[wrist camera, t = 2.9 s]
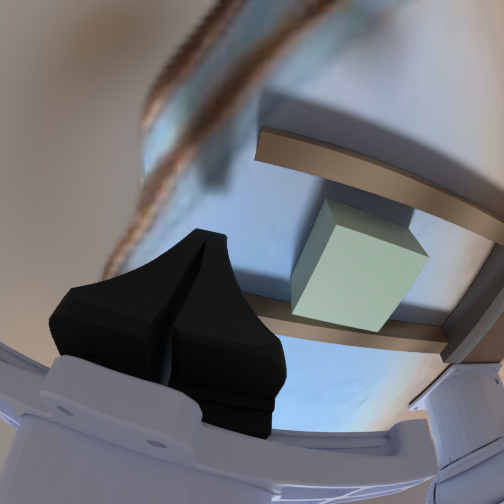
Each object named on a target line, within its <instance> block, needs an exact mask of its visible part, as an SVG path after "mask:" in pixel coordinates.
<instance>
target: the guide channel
mask: <svg viewBox="0 0 504 504" xmlns="http://www.w3.org/2000/svg"><path fill="white" fill-rule="evenodd" d="M254 160H256V161H260V162H264V163H268V164H273V165H277V166H281V167H285V168H289V169H292V170H296V171H300V172H304V173H307V174H311V175H315V176H318V177H322V178H325V179H329V180H332V181H335V182H339V183H342V184H345V185H349V186H352V187H355V188H358V189H361V190H364V191H367V192H371V193H374V194H377V195H379V196H382V197H385V198H388V199H391V200H394V201H397V202H400V203H402V204H405V205H408V206H411V207H413V208H416V209H419V210H421V211H424V212H426V213H429V214H431V215H434V216H437V217H439V218H442V219H444V220H446V221H449V222H451V223H454V224H456V225H458V226H461V227H463V228H465V229H468V230H470V231H472V232H474V233H477V234H479V235H481V236H483V237H485V238H488V239H490V240H492V241H494V242H496V245H495V247H494V249H493V250H492V252H491V254H490V256H489V258H488V259H487V261H486V263H485V264H484V266H483V268H482V269H481V271H480V273H479V274H478V276H477V277H476V279H475V281H474V282H473V284H472V285H471V287H470V288H469V290H468V291H467V293H466V294H465V296H464V297H463V299H462V300H461V302H460V303H459V304H458V306H457V307H456V309H455V310H454V311H453V313H452V314H451V316H450V317H449V318H448V320H447V321H446V322H445V323H444V325H443V326H442V327H436V326H429V325H422V324H415V323H408V322H401V321H394V320H388V319H387V321H386V322H385V323H384V325H383V326H382V327H381V329H380V330H379V331H378V332H375V331H369V330H364V329H359V328H354V327H349V326H345V325H340V324H335V323H330V322H326V321H321V320H317V319H312V318H308V317H303V316H299V315H294V314H292V305H291V302H286V301H281V300H276V299H271V298H266V297H261V296H256V295H252V294H247V293H243V295H244V297H245V298H246V300H247V302H248V303H249V305H250V306H251V308H252V309H253V310H254V312H255V313H256V315H257V316H258V318H259V319H260V320H261V321H262V322H263V324H264V325H265V326H266V327H267V328H268V329H269V330H270V331H271V332H272V333H273V334H277V335H283V336H289V337H295V338H301V339H307V340H314V341H320V342H327V343H334V344H342V345H350V346H358V347H366V348H376V349H385V350H396V351H408V352H421V353H436V354H440V356H441V358H442V360H443V363H461V362H462V361H463V359H464V358H465V357H466V356H467V355H468V354H469V353H470V352H471V351H472V350H473V348H474V347H475V346H476V345H477V344H478V343H479V341H480V340H481V339H482V338H483V337H484V335H485V334H486V333H487V332H488V331H489V329H490V328H491V327H492V325H493V324H494V323H495V322H496V320H497V319H498V318H499V316H500V315H501V314H502V312H503V311H504V219H503V218H501V217H499V216H497V215H496V214H494V213H492V212H490V211H489V210H487V209H485V208H483V207H481V206H479V205H477V204H476V203H474V202H472V201H470V200H468V199H466V198H464V197H462V196H460V195H458V194H456V193H454V192H452V191H450V190H448V189H446V188H443V187H441V186H439V185H437V184H435V183H433V182H430V181H428V180H426V179H424V178H421V177H419V176H417V175H414V174H412V173H410V172H407V171H405V170H402V169H400V168H397V167H395V166H392V165H390V164H387V163H384V162H382V161H379V160H376V159H374V158H371V157H368V156H365V155H363V154H360V153H357V152H354V151H351V150H348V149H345V148H342V147H339V146H336V145H332V144H329V143H326V142H323V141H319V140H316V139H312V138H309V137H305V136H302V135H298V134H294V133H291V132H287V131H283V130H279V129H275V128H271V127H267V126H262V130H261V134H260V138H259V142H258V146H257V150H256V154H255V159H254Z"/></svg>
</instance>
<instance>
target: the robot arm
mask: <svg viewBox="0 0 504 504" xmlns="http://www.w3.org/2000/svg"><path fill="white" fill-rule="evenodd" d="M49 328H50V331H51V335H52V337H53V339H54V342H55V344H56V346H57V349H58V351H59V353H60V355H61V356H60V357H58V358H56V359H55V360H54V362H53V364H52V366H51V368H49V367H46V366H44V365H42V364H40V363H38V362H36V361H34V360H32V359H30V358H28V357H27V356H24V355H23V354H21V353H19V352H17V351H15V350H14V349H12V348H10V347H8V346H6V345H5V344H3V343H1V342H0V418H2V419H3V420H4V421H5V422H7V423H8V424H10V425H11V426H13V427H14V428H15V429H17V432H16V435H15V437H14V440H13V442H12V445H11V447H10V450H9V452H8V455H7V458H6V460H5V464H4V466H3V469H2V472H1V475H0V504H334V503H342V502H350V501H356V500H362V499H368V498H374V497H379V496H384V495H389V494H394V493H397V492H400V491H402V490H405V489H408V488H410V487H412V486H415V485H417V484H419V483H421V482H424V481H426V480H428V479H430V478H432V477H434V476H435V479H434V480H433V481H432V482H431V484H430V487H429V488H428V491H427V495H426V504H499V503H501V502H503V501H504V386H503V383H502V381H501V379H500V376H499V374H498V371H499V370H500V368H501V367H502V364H501V363H491V364H454V365H452V366H450V367H449V368H448V369H447V370H446V372H445V373H444V374H443V375H442V376H441V377H440V378H439V379H438V380H436V381H435V382H434V383H433V384H432V385H431V386H430V387H429V388H428V389H427V390H426V391H425V392H424V393H423V394H422V395H421V396H419V397H418V398H417V399H416V400H415V401H414V402H413V403H411V404H410V405H409V406H408V410H409V411H413V410H426V412H427V416H428V420H429V424H430V427H431V432H432V436H433V440H434V444H435V449H436V453H437V458H438V463H439V468H440V471H439V472H438V468H437V462H436V458H435V453H434V449H433V444H432V439H431V435H430V431H429V427H428V423H427V419H416V420H406V421H402V422H399V423H397V424H395V425H394V426H392V427H391V428H390V429H389V430H388V431H376V432H306V431H291V430H279V429H272V412H273V411H274V408H275V398H276V396H277V395H278V393H279V391H280V390H281V388H282V387H283V385H284V383H285V380H286V378H287V370H286V362H285V356H284V352H283V348H282V344H281V341H280V339H279V338H278V337H277V336H275V335H274V334H273V333H272V332H271V331H270V330H269V329H268V328H267V327H266V326H265V325H264V324H263V322H262V321H261V320H260V319H259V318H258V316H257V315H256V313H255V312H254V310H253V309H252V308H251V306H250V305H249V303H248V302H247V300H246V298H245V297H244V295H243V293H242V291H241V289H240V287H239V285H238V283H237V280H236V278H235V275H234V272H233V270H232V267H231V263H230V259H229V255H228V250H227V236H226V235H225V234H220V233H216V232H211V231H207V230H202V229H198V228H196V229H195V230H193V231H192V232H191V233H190V234H188V235H187V236H186V237H185V238H184V239H182V240H181V241H180V242H179V243H177V244H176V245H175V246H173V247H172V248H171V249H169V250H168V251H166V252H165V253H163V254H162V255H160V256H159V257H157V258H156V259H154V260H152V261H151V262H149V263H147V264H145V265H143V266H141V267H139V268H137V269H135V270H132V271H130V272H128V273H125V274H123V275H120V276H118V277H115V278H112V279H109V280H105V281H102V282H98V283H94V284H90V285H85V286H80V287H75V288H71V289H70V291H69V292H68V293H67V294H66V295H65V296H64V298H63V299H62V300H61V302H60V304H59V305H58V306H57V308H56V309H55V311H54V312H53V314H52V315H51V317H50V318H49Z"/></svg>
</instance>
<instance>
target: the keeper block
mask: <svg viewBox="0 0 504 504" xmlns="http://www.w3.org/2000/svg"><path fill="white" fill-rule="evenodd" d="M428 260H429V256H428V255H427V253H426V252H425V250H424V249H423V248H422V246H421V245H420V244H419V242H418V241H417V239H416V238H415V237H414V235H413V234H412V233H411V231H410V230H409V229H408V228H406V227H403V226H401V225H398V224H396V223H393V222H390V221H388V220H385V219H383V218H380V217H377V216H375V215H372V214H370V213H367V212H364V211H361V210H359V209H356V208H353V207H350V206H348V205H345V204H342V203H339V202H336V201H333V200H330V199H327V198H325V200H324V202H323V205H322V207H321V209H320V212H319V214H318V216H317V219H316V221H315V223H314V226H313V228H312V230H311V233H310V235H309V237H308V240H307V242H306V244H305V246H304V249H303V251H302V253H301V255H300V258H299V260H298V262H297V264H296V266H295V269H294V271H293V273H292V275H291V277H290V287H291V305H292V314H294V315H299V316H303V317H308V318H312V319H317V320H321V321H326V322H330V323H335V324H340V325H345V326H349V327H354V328H359V329H364V330H369V331H375V332H378V331H379V330H380V329H381V327H382V326H383V325H384V323H385V322H386V321H387V319H388V318H389V317H390V315H391V314H392V313H393V311H394V310H395V309H396V307H397V306H398V305H399V303H400V302H401V300H402V299H403V297H404V296H405V295H406V293H407V292H408V290H409V289H410V287H411V286H412V284H413V283H414V281H415V280H416V278H417V277H418V275H419V274H420V272H421V271H422V269H423V268H424V266H425V264H426V263H427V261H428Z"/></svg>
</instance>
